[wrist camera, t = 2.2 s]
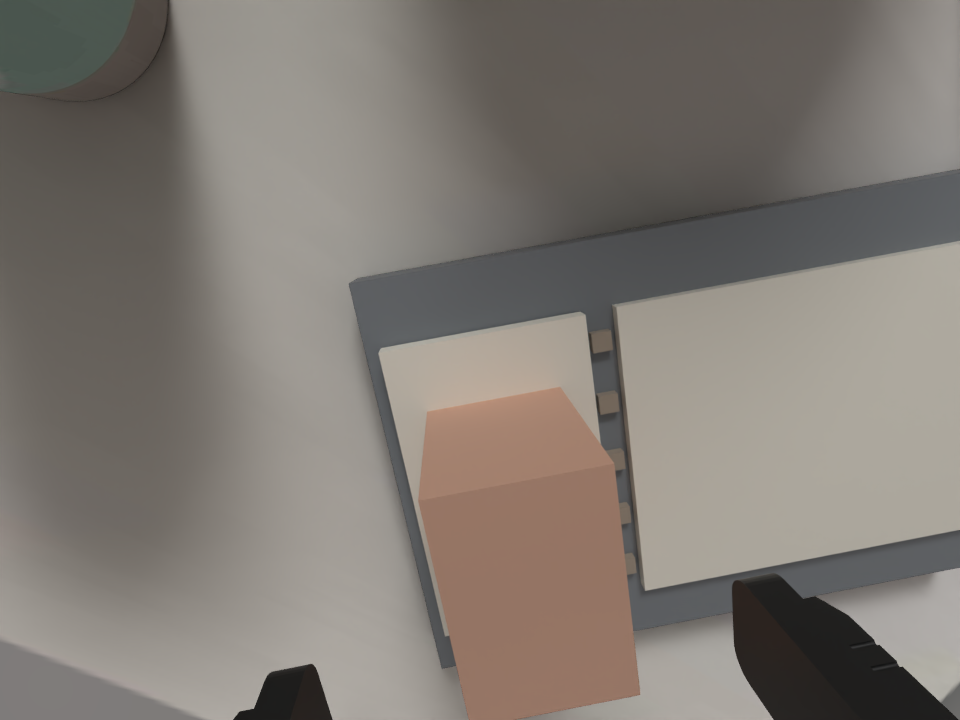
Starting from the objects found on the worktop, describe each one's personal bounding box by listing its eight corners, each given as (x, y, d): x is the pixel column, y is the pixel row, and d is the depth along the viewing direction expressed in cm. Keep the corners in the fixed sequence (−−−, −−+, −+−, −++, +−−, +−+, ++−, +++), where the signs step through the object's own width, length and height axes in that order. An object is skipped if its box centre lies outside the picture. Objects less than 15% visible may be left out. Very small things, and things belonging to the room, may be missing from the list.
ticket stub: (580, 311, 15) (655, 360, 10) (614, 590, 18) (687, 750, 12) (380, 348, 15) (344, 417, 10) (444, 623, 18) (444, 798, 12)
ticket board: (970, 167, 16) (1037, 159, 14) (940, 538, 20) (990, 570, 18) (357, 278, 16) (346, 285, 14) (442, 635, 20) (441, 678, 18)
